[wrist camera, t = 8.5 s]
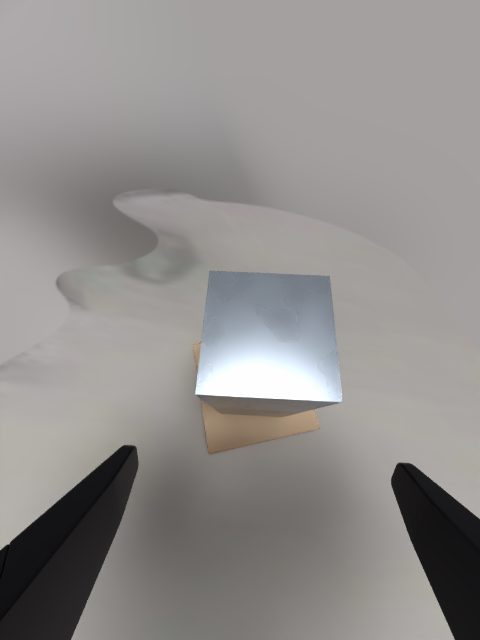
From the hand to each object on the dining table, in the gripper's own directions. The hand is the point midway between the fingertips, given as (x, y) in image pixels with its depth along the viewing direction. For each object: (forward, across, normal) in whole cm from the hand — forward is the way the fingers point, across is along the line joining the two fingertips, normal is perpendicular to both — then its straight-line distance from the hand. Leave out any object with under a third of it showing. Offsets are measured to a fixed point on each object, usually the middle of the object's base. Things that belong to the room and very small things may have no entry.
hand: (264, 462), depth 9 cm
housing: (+12, 0, +5) cm, 13 cm away
